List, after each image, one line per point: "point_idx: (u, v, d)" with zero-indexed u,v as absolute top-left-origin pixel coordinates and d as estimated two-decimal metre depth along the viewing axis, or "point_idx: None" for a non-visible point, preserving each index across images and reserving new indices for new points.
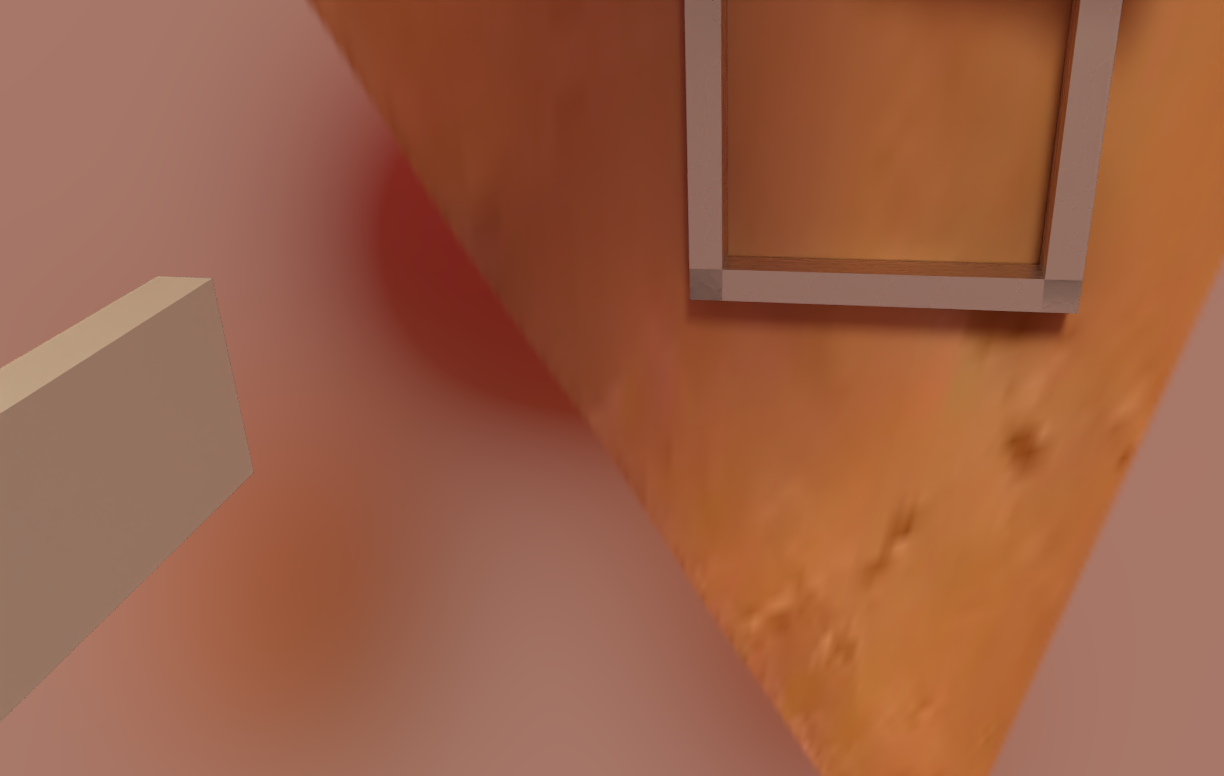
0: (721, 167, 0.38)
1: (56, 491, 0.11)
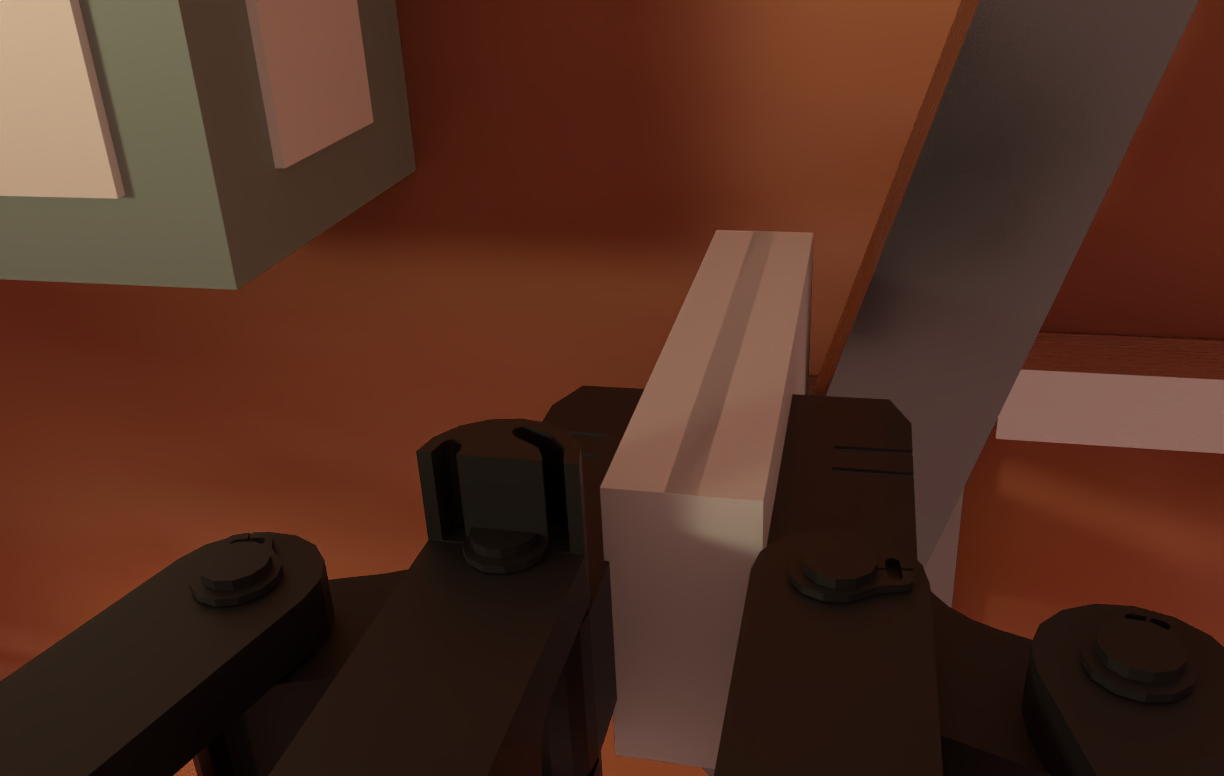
0: None
1: None
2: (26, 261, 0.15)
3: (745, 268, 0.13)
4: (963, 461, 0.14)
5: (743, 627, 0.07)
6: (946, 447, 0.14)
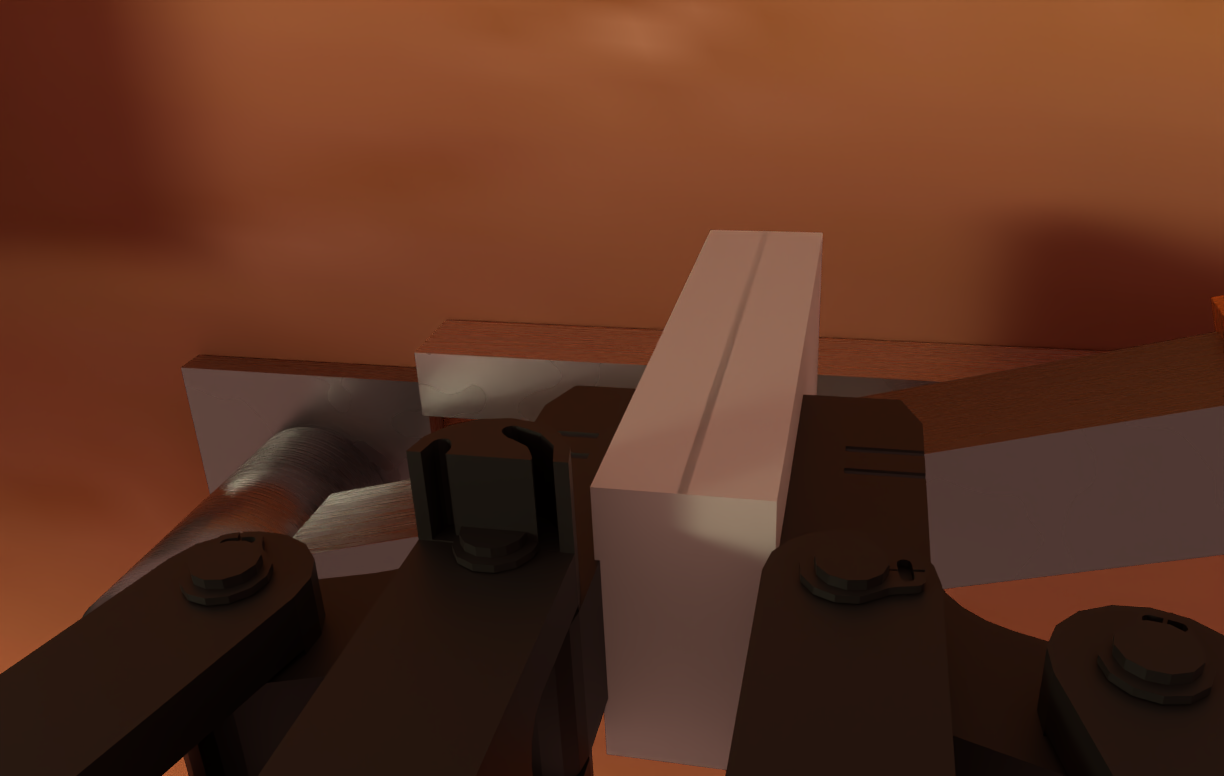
0: None
1: None
2: None
3: (755, 268, 0.13)
4: None
5: (755, 628, 0.07)
6: None
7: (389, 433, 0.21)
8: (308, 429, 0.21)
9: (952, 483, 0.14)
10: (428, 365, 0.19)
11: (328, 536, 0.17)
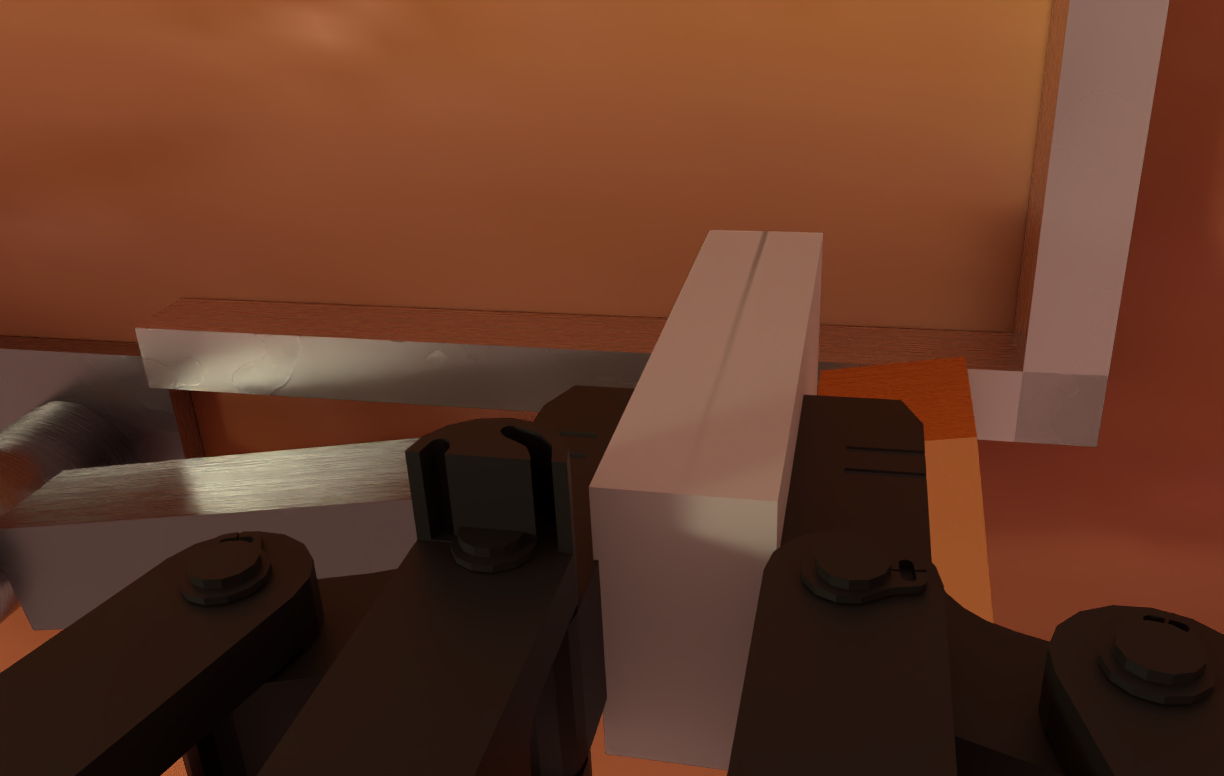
0: None
1: None
2: None
3: (755, 268, 0.13)
4: None
5: (756, 628, 0.07)
6: None
7: (135, 406, 0.22)
8: (61, 403, 0.22)
9: None
10: (148, 340, 0.20)
11: (40, 512, 0.18)
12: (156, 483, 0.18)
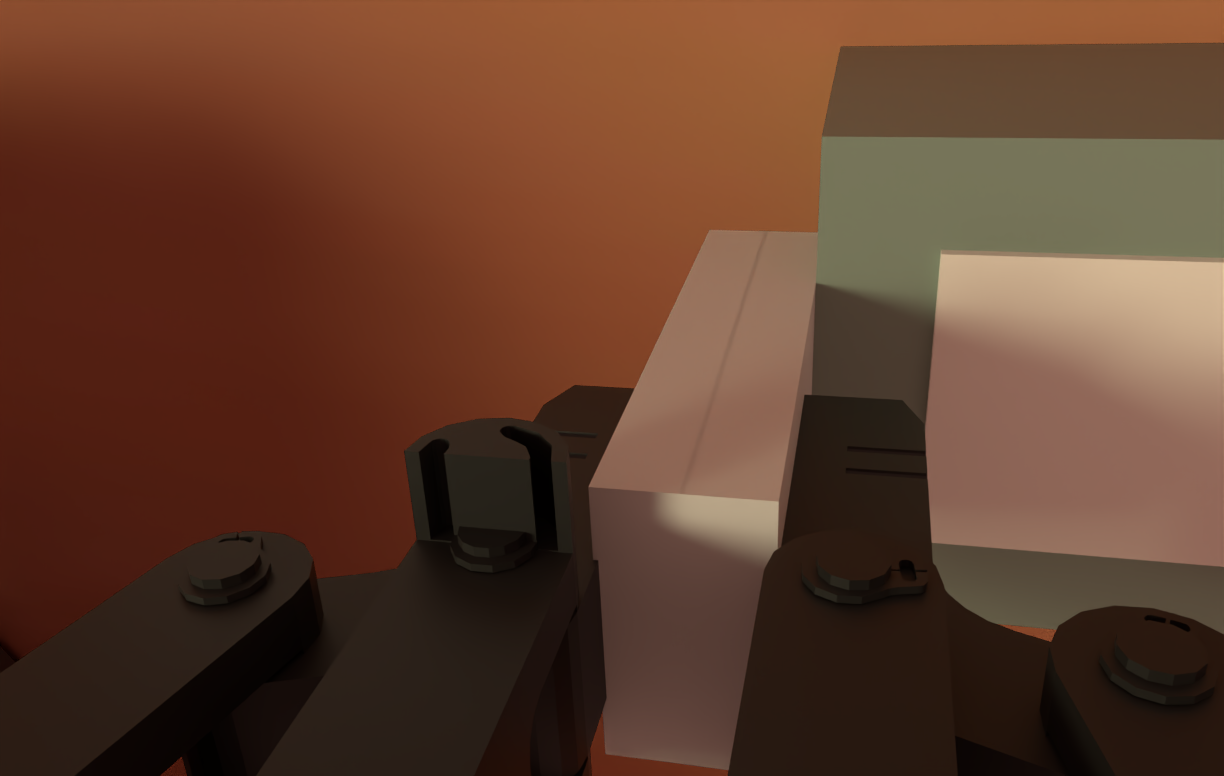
0: None
1: None
2: None
3: (756, 268, 0.13)
4: None
5: (757, 628, 0.07)
6: None
7: None
8: None
9: None
10: None
11: None
12: None
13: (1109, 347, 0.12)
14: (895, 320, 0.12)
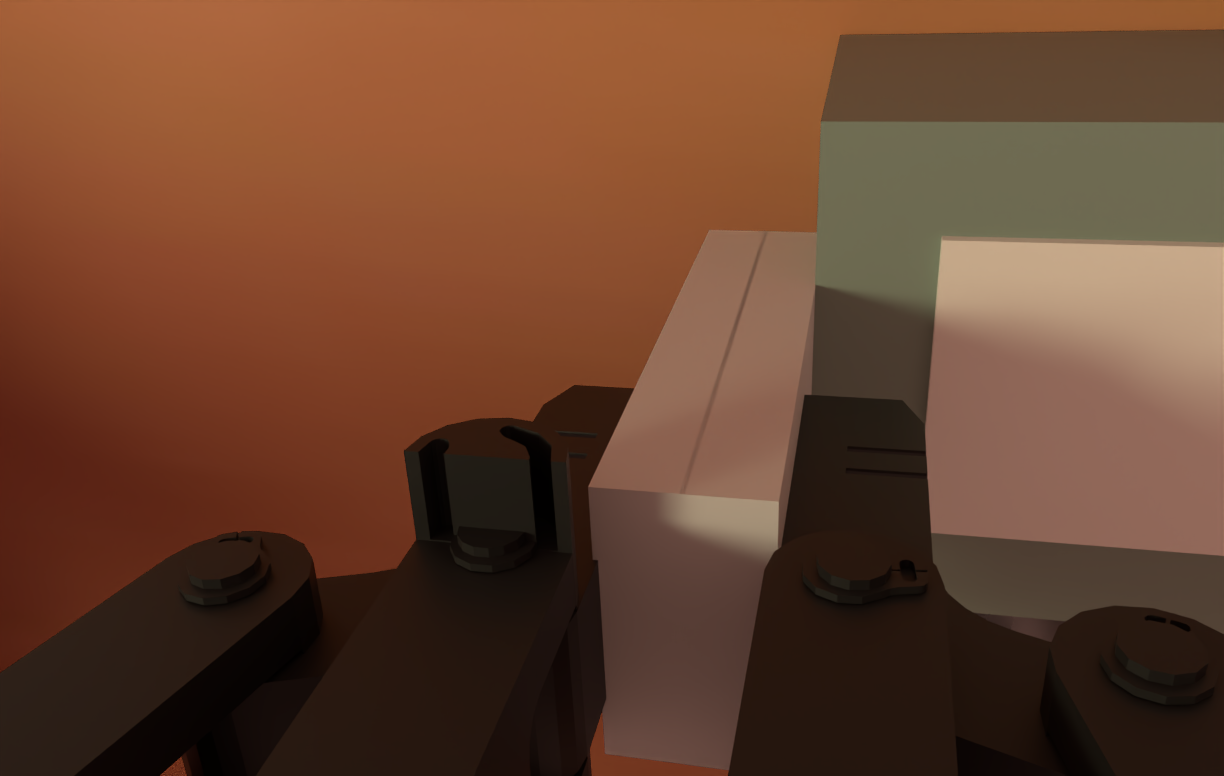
0: None
1: None
2: None
3: (756, 268, 0.13)
4: None
5: (757, 628, 0.07)
6: None
7: None
8: None
9: None
10: None
11: None
12: None
13: (1112, 334, 0.12)
14: (895, 307, 0.12)
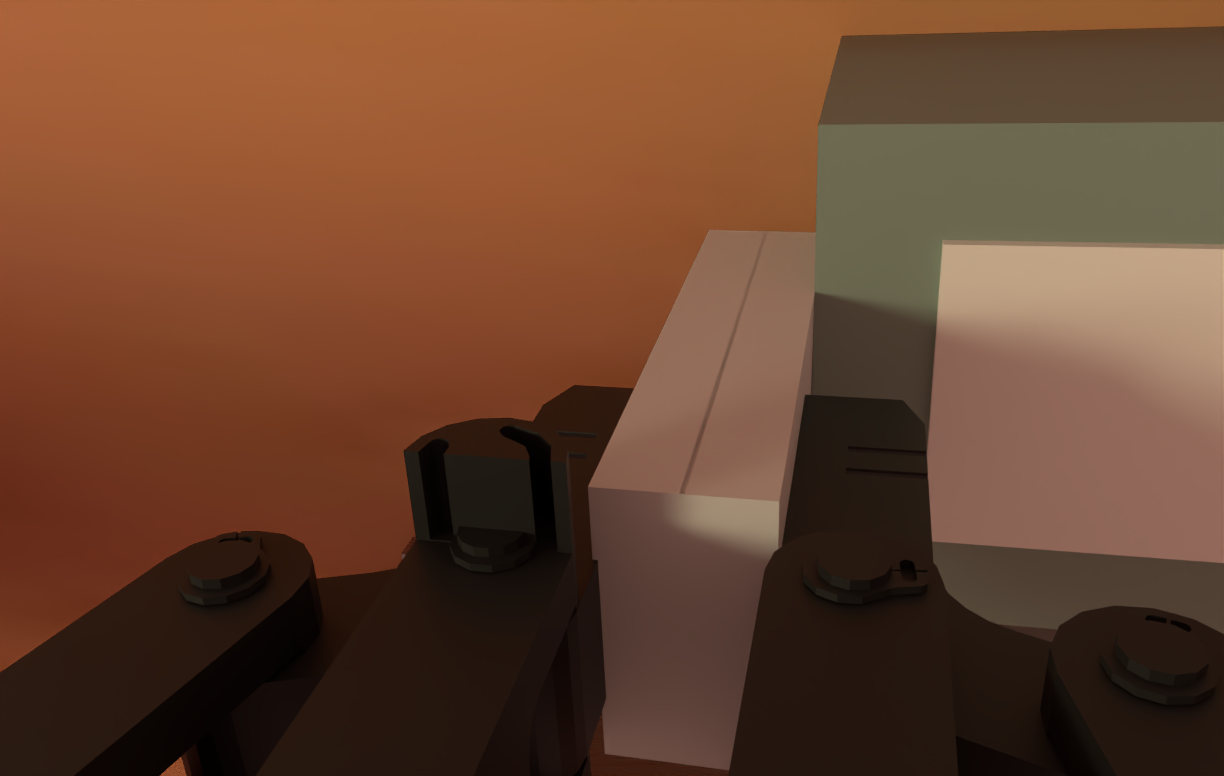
0: None
1: None
2: None
3: (756, 268, 0.13)
4: None
5: (757, 628, 0.07)
6: None
7: None
8: None
9: None
10: None
11: (609, 775, 0.18)
12: None
13: (1118, 338, 0.11)
14: (896, 313, 0.12)
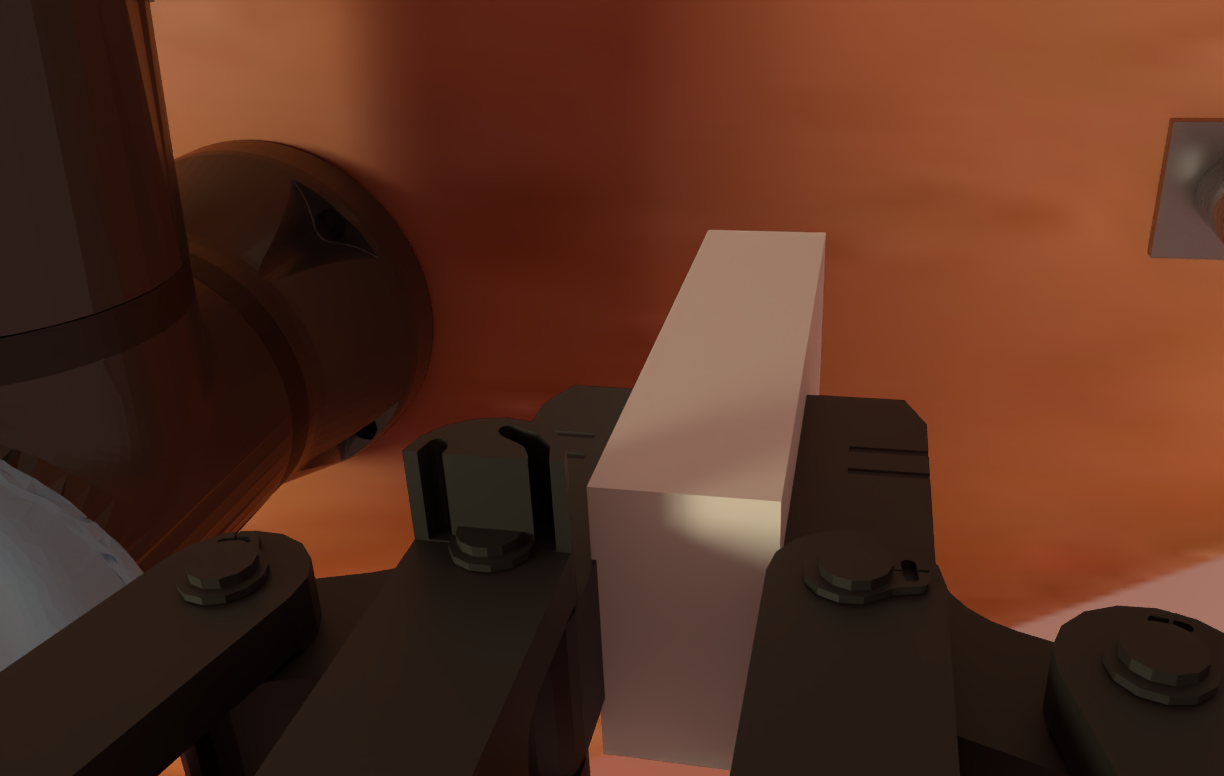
0: None
1: None
2: None
3: (758, 268, 0.13)
4: None
5: (759, 628, 0.07)
6: None
7: None
8: None
9: None
10: None
11: None
12: None
13: None
14: None
